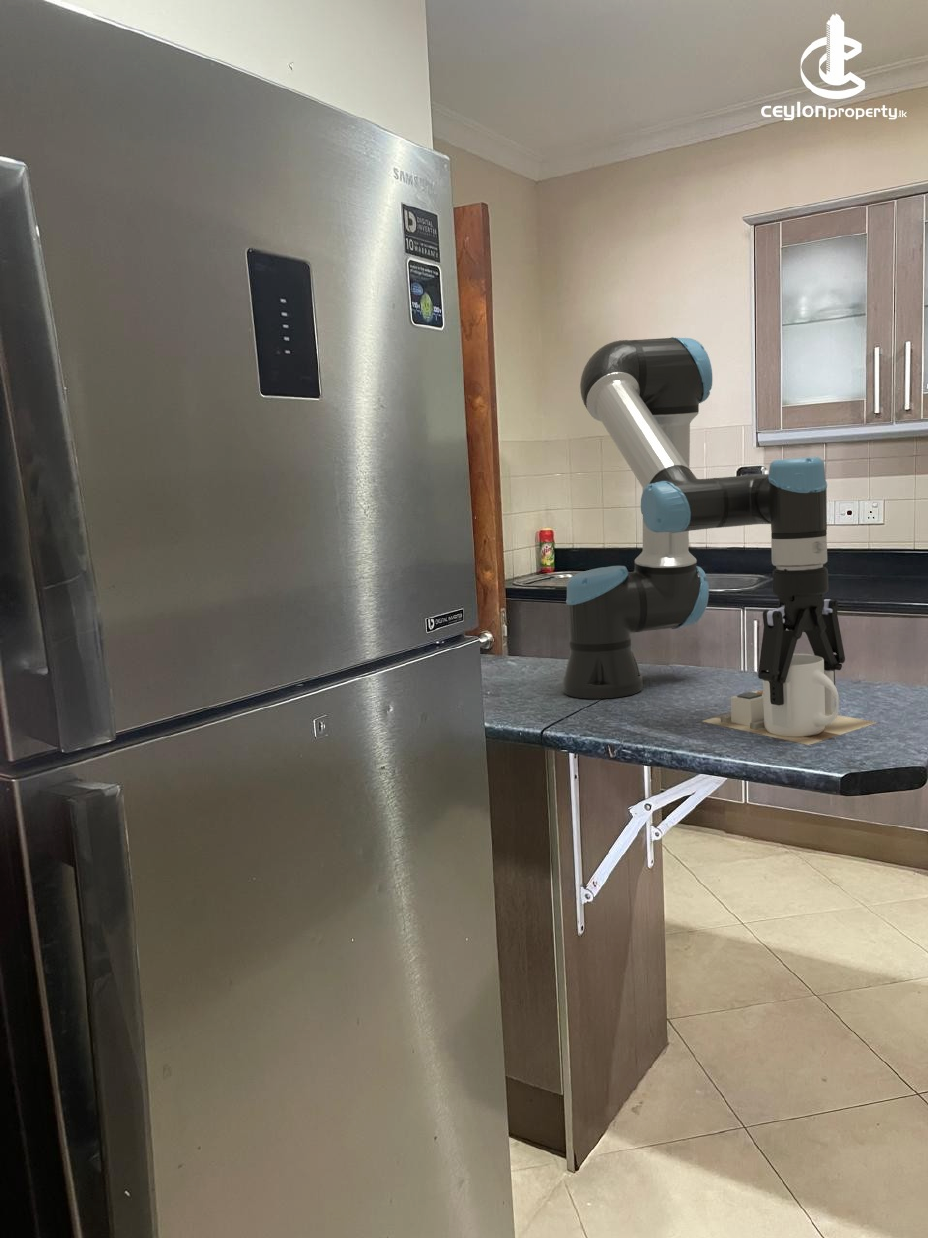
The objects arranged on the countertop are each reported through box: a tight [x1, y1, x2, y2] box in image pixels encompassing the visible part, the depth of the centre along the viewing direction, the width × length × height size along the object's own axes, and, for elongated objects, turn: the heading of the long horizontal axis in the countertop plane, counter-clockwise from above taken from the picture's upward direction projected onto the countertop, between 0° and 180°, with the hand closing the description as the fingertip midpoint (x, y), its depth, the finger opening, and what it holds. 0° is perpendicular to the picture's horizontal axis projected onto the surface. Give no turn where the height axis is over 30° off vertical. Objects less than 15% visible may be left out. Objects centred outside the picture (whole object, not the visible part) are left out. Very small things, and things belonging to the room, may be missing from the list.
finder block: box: [729, 690, 764, 726], centre depth 145 cm, size 4×6×4 cm, turn 123°
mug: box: [762, 653, 840, 737], centre depth 137 cm, size 9×12×11 cm
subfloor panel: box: [701, 712, 879, 746], centre depth 143 cm, size 20×16×2 cm
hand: (804, 719), depth 137 cm, fingers open, 9 cm apart
